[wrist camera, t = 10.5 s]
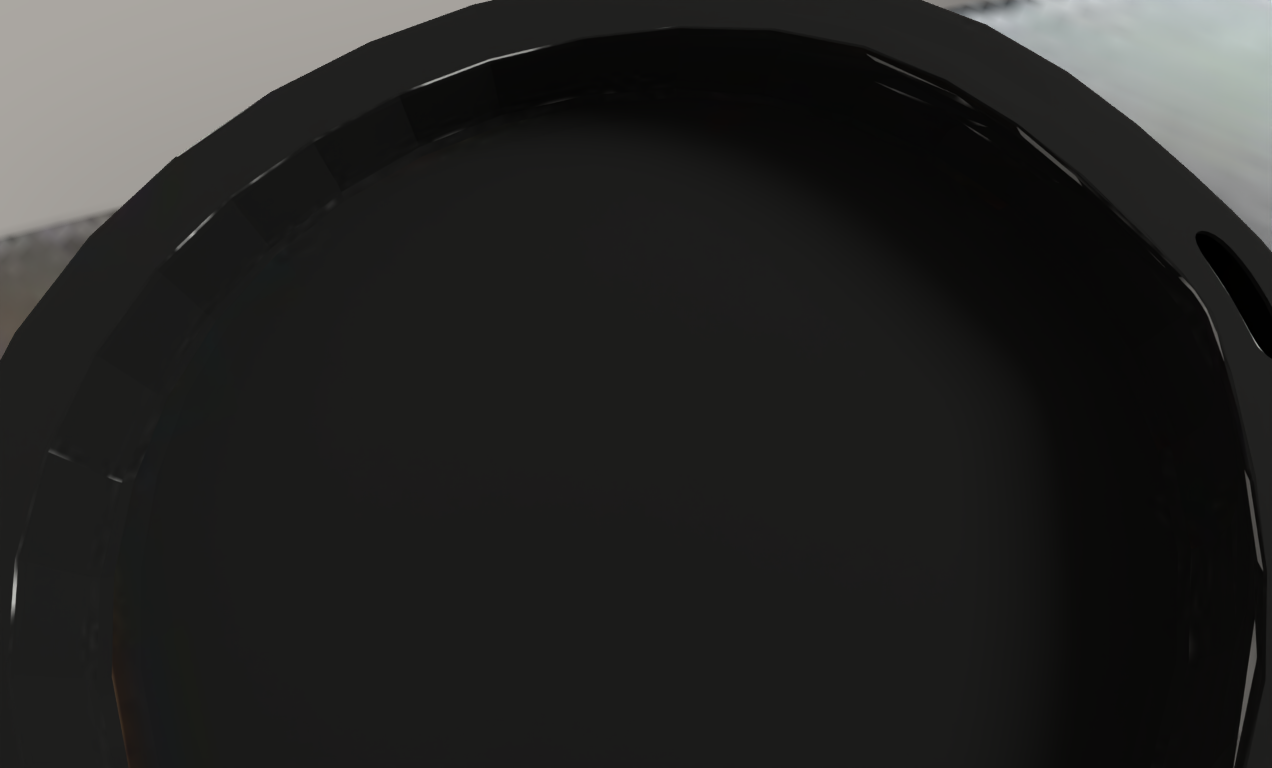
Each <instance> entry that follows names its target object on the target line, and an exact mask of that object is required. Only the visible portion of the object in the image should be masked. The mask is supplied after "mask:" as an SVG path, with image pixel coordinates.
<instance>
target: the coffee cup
mask: <svg viewBox="0 0 1272 768" xmlns="http://www.w3.org/2000/svg"><path fill="white" fill-rule="evenodd" d="M0 768H1272V252H1271V251H1270V249H1269V248H1268V247H1267V246H1266V245H1265V244H1264V242H1263V241H1262V240H1261V239H1260V238H1259V237H1258V236H1257V235H1256V234H1255V233H1254V232H1253V231H1252V230H1251V229H1250V228H1249V227H1248V226H1247V225H1246V224H1245V223H1244V222H1243V221H1242V220H1241V219H1240V218H1239V217H1238V216H1237V215H1236V214H1235V213H1234V212H1233V211H1232V210H1231V209H1230V208H1229V207H1228V206H1227V205H1226V204H1225V203H1224V202H1223V201H1222V200H1220V199H1219V198H1218V197H1217V196H1216V195H1215V194H1214V193H1213V192H1212V191H1211V190H1210V189H1209V188H1208V187H1207V186H1206V185H1205V184H1203V183H1202V182H1201V181H1200V180H1199V179H1198V178H1197V177H1196V176H1195V175H1194V174H1193V173H1192V172H1191V171H1189V170H1188V169H1187V168H1186V167H1185V166H1184V165H1183V164H1181V163H1180V162H1179V161H1178V160H1177V159H1176V158H1175V157H1174V156H1172V155H1171V154H1170V153H1169V152H1168V151H1167V150H1166V149H1164V148H1163V147H1162V146H1161V145H1160V144H1159V143H1158V142H1157V141H1155V140H1154V139H1153V138H1152V137H1151V136H1150V135H1149V134H1147V133H1146V132H1145V131H1144V130H1143V129H1142V128H1141V127H1140V126H1138V125H1137V124H1136V123H1135V122H1133V121H1132V120H1131V119H1129V118H1128V117H1127V116H1125V115H1124V114H1123V113H1121V112H1120V111H1119V110H1117V109H1116V108H1115V107H1113V106H1112V105H1111V104H1109V103H1108V102H1107V101H1105V100H1104V99H1103V98H1102V97H1100V96H1099V95H1098V94H1096V93H1095V92H1094V91H1092V90H1091V89H1090V88H1088V87H1087V86H1086V85H1084V84H1083V83H1082V82H1080V81H1079V80H1078V79H1076V78H1075V77H1074V76H1072V75H1071V74H1070V73H1068V72H1067V71H1065V70H1063V69H1062V68H1060V67H1058V66H1057V65H1055V64H1053V63H1051V62H1050V61H1048V60H1046V59H1044V58H1043V57H1041V56H1039V55H1038V54H1036V53H1034V52H1032V51H1031V50H1029V49H1027V48H1026V47H1024V46H1022V45H1020V44H1019V43H1017V42H1015V41H1013V40H1012V39H1010V38H1008V37H1007V36H1005V35H1003V34H1001V33H1000V32H998V31H996V30H995V29H993V28H991V27H989V26H988V25H986V24H983V23H980V22H978V21H975V20H973V19H970V18H967V17H965V16H962V15H959V14H957V13H954V12H951V11H949V10H946V9H944V8H941V7H938V6H935V5H933V4H930V3H928V2H925V1H922V0H492V1H488V2H483V3H479V4H474V5H471V6H468V7H466V8H463V9H460V10H457V11H454V12H452V13H449V14H446V15H443V16H440V17H438V18H435V19H432V20H429V21H427V22H424V23H421V24H418V25H416V26H413V27H410V28H407V29H405V30H402V31H399V32H396V33H393V34H391V35H388V36H385V37H382V38H380V39H377V40H374V41H371V42H369V43H367V44H365V45H363V46H361V47H359V48H357V49H355V50H353V51H351V52H349V53H347V54H345V55H343V56H341V57H339V58H337V59H335V60H333V61H332V62H329V63H328V64H325V65H323V66H321V67H319V68H317V69H315V70H314V71H312V72H310V73H308V74H306V75H304V76H302V77H300V78H298V79H296V80H294V81H292V82H290V83H288V84H286V85H284V86H282V87H280V88H278V89H276V90H274V91H272V92H270V93H269V94H267V95H266V96H264V97H263V98H261V99H260V100H258V101H257V102H255V103H254V104H252V105H251V106H250V107H248V108H247V109H245V110H244V111H242V112H241V113H240V114H238V115H236V116H235V117H233V118H232V119H231V120H229V121H228V122H226V123H225V124H223V125H222V126H220V127H219V128H217V129H216V130H214V131H213V132H211V133H210V134H208V135H207V136H205V137H204V138H203V139H201V140H200V141H198V142H197V143H195V144H194V145H192V146H191V147H189V148H188V149H186V150H185V151H183V152H182V153H180V154H179V155H177V156H176V157H175V158H174V159H173V160H172V161H171V162H170V163H168V164H167V165H166V166H165V167H164V168H163V169H162V170H161V171H160V172H159V173H158V174H156V175H155V176H154V177H153V178H152V179H151V180H150V181H149V182H148V183H147V184H146V185H145V186H144V187H142V189H141V190H139V191H138V192H137V193H136V194H135V195H134V196H133V197H132V198H131V199H130V200H128V201H127V202H126V203H125V204H124V205H123V206H122V207H121V208H120V209H119V210H118V211H117V212H116V213H114V214H113V215H112V216H111V217H110V218H109V219H108V220H107V221H106V222H105V223H104V224H103V225H102V226H100V227H99V228H98V229H97V230H96V231H95V232H94V233H93V234H92V235H91V236H90V237H89V238H88V239H87V241H86V242H85V243H84V244H83V246H82V247H81V248H80V250H79V251H78V252H77V253H76V255H75V256H74V257H73V259H72V260H71V261H70V262H69V264H68V265H67V266H66V268H65V269H64V270H63V272H62V273H61V274H60V275H59V277H58V278H57V279H56V281H55V282H54V283H53V284H52V286H51V287H50V288H49V290H48V291H47V292H46V293H45V295H44V296H43V297H42V299H41V300H40V301H39V303H38V304H37V305H36V306H35V308H34V309H33V310H32V312H31V313H30V314H29V315H28V317H27V318H26V319H25V321H24V322H23V323H22V325H21V326H20V327H19V328H18V330H17V331H16V332H15V334H14V336H13V338H12V340H11V341H10V343H9V345H8V347H7V349H6V351H5V353H4V355H3V357H2V358H1V360H0Z"/></svg>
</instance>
